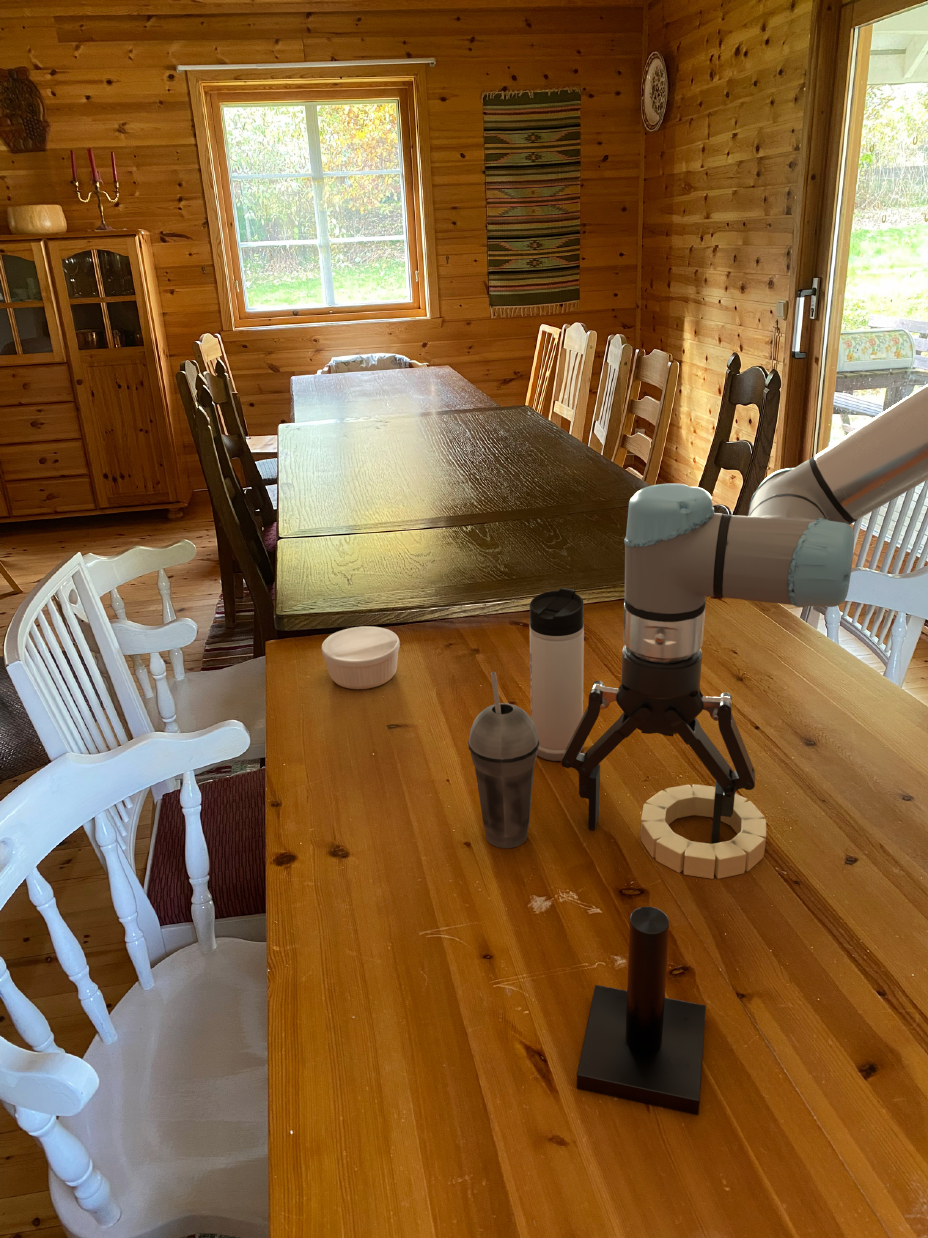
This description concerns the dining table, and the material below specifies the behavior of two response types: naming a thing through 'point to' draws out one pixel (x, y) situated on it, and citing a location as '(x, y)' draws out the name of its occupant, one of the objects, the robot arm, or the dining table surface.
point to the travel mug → (556, 669)
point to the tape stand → (644, 1029)
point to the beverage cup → (504, 769)
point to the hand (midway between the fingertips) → (653, 830)
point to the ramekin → (361, 656)
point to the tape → (697, 855)
